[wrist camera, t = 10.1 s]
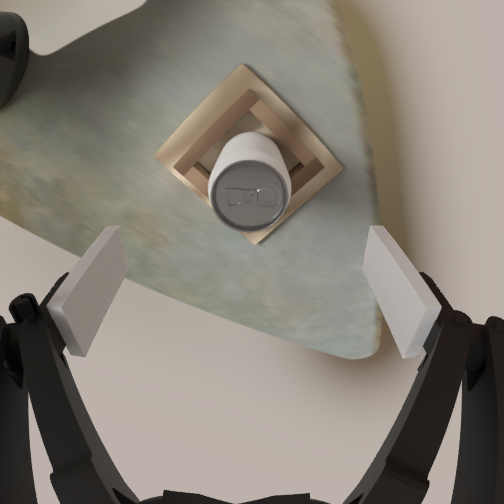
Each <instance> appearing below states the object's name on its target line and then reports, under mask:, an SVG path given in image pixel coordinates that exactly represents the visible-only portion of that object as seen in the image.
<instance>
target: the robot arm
mask: <svg viewBox="0 0 504 504" xmlns="http://www.w3.org/2000/svg"><path fill="white" fill-rule="evenodd" d="M28 51H29V35H28V30H27V26H26V24H25V22H24V20H23V19H22V18H21V17H20V16H19V15H18V14H16V13H12V12H2V11H1V12H0V107H1V106H3V105H4V104H5V103H6V102H7V101H8V100H9V99H10V97H11V96H12V95H13V93H14V92H15V90H16V88H17V86H18V84H19V82H20V80H21V78H22V75H23V73H24V70H25V66H26V62H27V58H28ZM128 270H129V266H128V262H127V258H126V253H125V249H124V244H123V240H122V235H121V230H120V226H107V227H106V228H105V229H104V230H103V231H102V233H101V234H100V235H99V236H98V238H97V239H96V240H95V241H94V242H93V244H92V245H91V246H90V247H89V249H88V250H87V251H86V252H85V254H84V255H83V256H82V258H81V259H80V260H79V261H78V263H77V264H76V266H75V267H74V268H73V269H72V271H71V272H70V273H68V272H67V273H66V274H64V275H63V276H62V277H60V278H59V279H58V281H57V282H56V283H55V285H54V287H52V289H51V290H50V292H49V293H48V294H47V295H46V297H45V298H44V300H43V301H42V302H41V304H40V305H38V303H37V301H36V298H35V296H34V295H33V294H31V293H25V294H22V295H19V296H18V297H16V298H15V299H14V300H13V301H12V302H11V303H10V305H9V311H10V313H11V315H12V317H13V319H14V320H15V322H16V323H10V324H7V323H6V322H5V320H4V318H3V317H2V316H0V504H38V503H37V497H36V492H35V486H34V479H33V471H32V463H31V453H30V440H29V419H28V391H29V395H30V399H31V403H32V407H33V410H34V414H35V418H36V421H37V425H38V428H39V431H40V434H41V437H42V440H43V443H44V446H45V449H46V452H47V454H48V457H49V460H50V462H51V465H52V468H53V473H51V474H50V480H51V483H52V486H53V488H54V491H55V493H56V495H57V497H58V500H59V502H60V504H232V503H228V502H225V501H221V500H217V499H214V498H210V497H207V496H204V495H200V494H194V493H185V492H176V491H169V490H164V492H163V496H158V497H153V498H149V499H146V500H143V501H141V502H140V501H139V499H138V498H137V497H136V495H135V494H134V493H133V492H132V491H131V489H130V488H129V487H128V486H127V484H126V483H125V482H124V480H123V478H122V477H121V475H120V473H119V472H118V470H117V468H116V467H115V465H114V463H113V462H112V460H111V458H110V456H109V454H108V452H107V451H106V449H105V447H104V445H103V443H102V441H101V439H100V437H99V436H98V433H97V431H96V430H95V427H94V425H93V423H92V421H91V419H90V417H89V414H88V412H87V410H86V408H85V406H84V404H83V401H82V399H81V396H80V394H79V392H78V389H77V387H76V384H75V382H74V379H73V377H72V374H71V371H70V369H69V366H68V363H67V360H66V357H65V356H64V354H63V350H64V348H65V346H67V349H68V350H69V352H70V354H71V355H75V356H81V357H86V354H87V352H88V350H89V348H90V345H91V343H92V341H93V339H94V337H95V335H96V333H97V331H98V328H99V326H100V324H101V322H102V320H103V318H104V316H105V314H106V312H107V310H108V308H109V306H110V304H111V302H112V300H113V299H114V297H115V294H116V293H117V291H118V289H119V287H120V285H121V283H122V281H123V280H124V278H125V276H126V274H127V272H128ZM361 270H362V272H363V274H364V276H365V278H366V280H367V282H368V284H369V286H370V288H371V290H372V292H373V294H374V296H375V298H376V301H377V303H378V305H379V307H380V309H381V311H382V313H383V315H384V317H385V320H386V322H387V324H388V326H389V328H390V330H391V333H392V335H393V337H394V340H395V342H396V344H397V346H398V349H399V351H400V353H401V355H402V358H403V359H405V358H412V357H418V355H419V353H420V352H421V350H422V347H424V349H425V351H426V355H425V357H424V359H423V361H422V363H421V365H420V366H419V368H418V374H417V376H416V378H415V381H414V383H413V385H412V388H411V390H410V392H409V394H408V396H407V398H406V401H405V403H404V405H403V407H402V409H401V411H400V413H399V415H398V417H397V419H396V421H395V423H394V425H393V427H392V428H391V430H390V432H389V434H388V436H387V438H386V440H385V441H384V443H383V445H382V447H381V448H380V450H379V452H378V453H377V455H376V457H375V458H374V460H373V462H372V463H371V465H370V467H369V468H368V470H367V472H366V473H365V475H364V476H363V478H362V479H361V481H360V482H359V484H358V485H357V487H356V488H355V489H354V490H353V492H352V493H351V494H350V495H349V496H348V498H347V499H346V500H345V501H344V503H343V504H421V503H422V501H423V499H424V497H425V495H426V493H427V491H428V488H429V483H430V482H429V480H427V477H428V474H429V472H430V469H431V467H432V465H433V462H434V460H435V458H436V455H437V453H438V450H439V448H440V445H441V443H442V440H443V438H444V435H445V432H446V429H447V426H448V423H449V420H450V418H451V415H452V412H453V408H454V405H455V402H456V399H457V395H458V391H459V388H460V384H461V380H462V413H461V432H460V444H459V454H458V462H457V470H456V477H455V483H454V489H453V495H452V500H451V504H504V320H503V319H501V318H498V317H496V316H491V317H489V318H488V319H487V321H486V323H485V325H481V324H475V323H472V321H471V319H470V318H469V316H467V315H466V314H465V313H463V312H461V311H457V310H453V308H452V307H451V305H450V304H449V302H448V301H447V300H446V298H445V297H444V295H443V294H442V293H441V292H440V290H439V288H438V287H436V284H435V283H434V281H433V280H432V278H430V277H429V276H428V275H426V274H425V273H424V272H418V271H417V270H416V269H415V267H414V266H413V264H412V263H411V262H410V260H409V259H408V258H407V256H406V255H405V254H404V252H403V251H402V250H401V248H400V247H399V246H398V244H397V243H396V242H395V240H394V239H393V238H392V237H391V235H390V234H389V233H388V231H387V230H386V229H385V228H384V226H375V225H370V229H369V234H368V239H367V244H366V249H365V254H364V258H363V263H362V267H361ZM241 504H329V503H326V502H324V501H319V500H314V499H310V493H306V494H293V495H277V496H271V497H267V498H263V499H259V500H254V501H250V502H245V503H241Z"/></svg>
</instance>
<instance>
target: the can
mask: <svg viewBox="0 0 504 504" xmlns="http://www.w3.org/2000/svg"><path fill="white" fill-rule="evenodd" d="M208 195H209V200H210V202H211V205H212V208H213V210H214V212H215V214H216V216H217V217H218V218H219V219H220V221H221V222H223V223H224V224H225V225H226V226H228V227H230V228H232V229H234V230H237V231H240V232H247V233H253V232H259V231H263V230H265V229H268V228H270V227H271V226H273V225H274V224H275V223H277V222H278V221H279V220H280V218H281V217H282V216H283V214H284V212H285V210H286V208H287V206H288V204H289V201H290V197H291V181H290V177H289V174H288V171H287V168H286V166H285V163H284V161H283V158H282V156H281V153H280V151H279V149H278V147H277V145H276V144H275V143H274V141H273V140H272V139H270V138H269V137H268V136H266V135H264V134H262V133H258V132H243V133H240V134H238V135H236V136H234V137H233V138H231V139H230V140H229V141H228V142H227V143H226V145H225V146H224V148H223V150H222V152H221V154H220V156H219V158H218V160H217V162H216V164H215V166H214V168H213V170H212V173H211V175H210V178H209V183H208Z"/></svg>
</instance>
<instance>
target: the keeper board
mask: <svg viewBox="0 0 504 504" xmlns="http://www.w3.org/2000/svg"><path fill="white" fill-rule="evenodd" d="M243 132H258V133H262V134H264V135H266V136H268V137H269V138H270V139H272V140H273V141H274V143H275V144H276V145H277V147H278V149H279V151H280V153H281V156H282V158H283V161H284V163H285V166H286V168H287V171H288V174H289V177H290V181H291V197H290V201H289V204H288V206H287V208H286V210H285V212H284V214H283V216H282V217H281V218H280V220H279V221H278V222H277V223H275V224H274V225H273V226H271V227H270V228H268V229H265V230H263V231H259V232H253V233H247V232H240V231H239V232H240V233H241V234H242V235H244V236H245V237H246V238H247V239H248V240H249V241H250V242H252V243H253V244H254V245H256V244H257V243H258V242H259V241H261V240H262V239H263V238H264V237H265V236H266V235H267V234H269V233H270V232H271V231H272V230H273V229H274V228H276V227H277V226H278V225H279V224H280V223H281V222H283V221H284V220H285V219H286V218H287V217H288V216H290V215H291V214H292V213H293V212H294V211H295V210H297V209H298V208H299V207H300V206H301V205H302V204H304V203H305V202H306V201H307V200H308V199H309V198H311V197H312V196H313V195H314V194H315V193H316V192H318V191H319V190H320V189H321V188H322V187H323V186H324V185H326V184H327V183H328V182H329V181H330V180H331V179H333V178H334V177H335V176H336V175H337V174H338V173H340V172H341V171H342V170H343V169H344V168H343V167H342V166H341V165H340V164H339V162H338V161H337V160H336V159H335V158H334V157H333V155H332V154H331V153H330V152H329V151H328V150H327V148H326V147H325V146H324V145H323V144H322V143H321V142H320V141H319V139H318V138H317V137H316V136H315V135H314V134H313V133H312V132H311V131H310V130H309V129H308V127H307V126H306V125H305V124H304V123H303V122H302V121H301V120H300V119H299V118H298V117H297V116H296V115H295V114H294V113H293V112H292V111H291V110H290V109H289V108H288V107H287V106H286V104H285V103H284V102H283V101H282V100H281V99H280V98H279V97H278V96H277V95H275V94H274V93H273V92H272V91H271V90H270V89H269V88H268V87H267V86H266V85H265V84H264V83H263V82H262V81H261V80H260V79H259V78H258V77H257V76H256V75H255V74H253V73H252V72H251V71H250V70H249V69H248V68H247V67H246V66H245V65H244V64H243V63H242V64H241V65H240V66H238V67H237V68H236V69H235V70H234V71H233V72H232V73H231V74H230V75H229V76H228V77H227V78H226V79H225V80H224V81H223V82H222V83H221V84H220V85H219V86H218V87H217V88H216V89H215V90H214V91H213V92H212V93H211V94H210V95H209V96H208V97H207V98H206V99H205V100H204V101H203V102H202V103H201V104H200V105H199V106H198V107H197V108H196V109H195V110H194V111H193V112H192V113H191V114H190V115H189V116H188V118H187V119H186V120H185V121H184V122H183V123H182V124H181V125H180V126H179V127H178V129H177V130H176V131H175V132H174V133H173V134H172V135H171V136H170V138H169V139H168V140H167V141H166V142H165V143H164V144H163V146H162V147H161V148H160V149H159V150H158V152H157V153H156V154H155V155H154V156H153V157H154V158H156V159H157V160H158V161H159V162H160V163H161V164H162V165H164V166H165V167H166V168H167V169H168V170H169V171H170V172H172V173H173V174H174V175H175V176H176V177H177V178H179V179H180V180H181V181H182V182H183V183H184V184H185V185H187V186H188V187H189V188H190V189H191V190H192V191H193V192H195V193H196V194H197V195H198V196H199V197H200V198H201V199H203V200H204V201H205V202H206V203H207V204H208V205H209V206H211V207H212V205H211V202H210V200H209V195H208V183H209V178H210V175H211V173H212V170H213V168H214V166H215V164H216V162H217V160H218V158H219V156H220V154H221V152H222V150H223V148H224V146H225V145H226V143H227V142H228V141H229V140H230V139H231V138H233V137H234V136H236V135H238V134H240V133H243Z"/></svg>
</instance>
